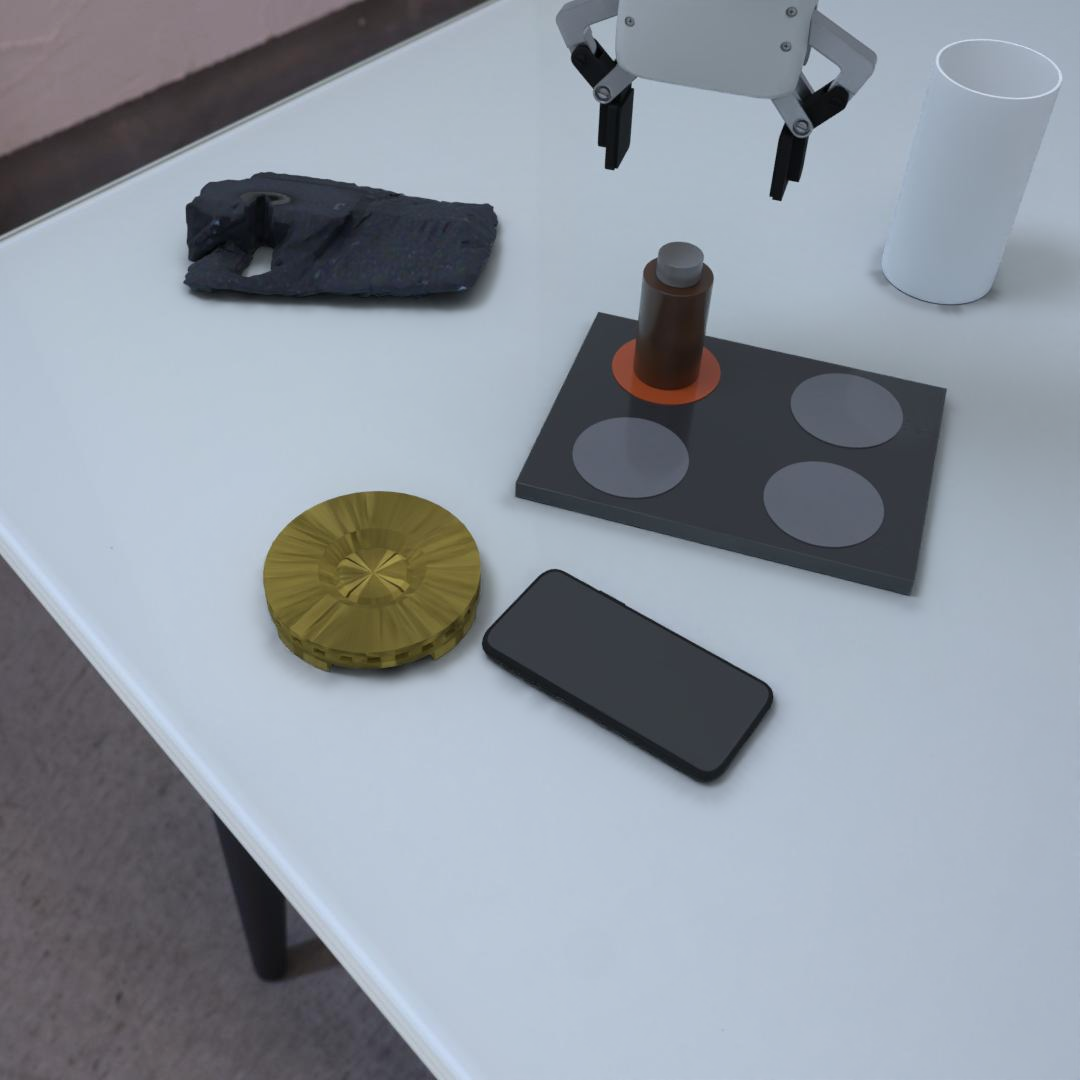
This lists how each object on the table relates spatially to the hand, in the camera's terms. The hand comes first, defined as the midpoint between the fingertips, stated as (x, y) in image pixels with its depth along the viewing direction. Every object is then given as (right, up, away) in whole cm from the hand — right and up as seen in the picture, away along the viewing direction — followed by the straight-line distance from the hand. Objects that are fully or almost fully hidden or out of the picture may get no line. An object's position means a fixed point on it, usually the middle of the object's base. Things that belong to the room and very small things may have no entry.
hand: (697, 173), depth 76 cm
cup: (+20, -1, +22) cm, 30 cm away
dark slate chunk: (-24, 0, +21) cm, 32 cm away
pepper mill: (-1, -10, +11) cm, 15 cm away
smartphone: (-4, -29, -5) cm, 29 cm away
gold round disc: (-18, -24, -1) cm, 31 cm away
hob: (+4, -15, +8) cm, 18 cm away
